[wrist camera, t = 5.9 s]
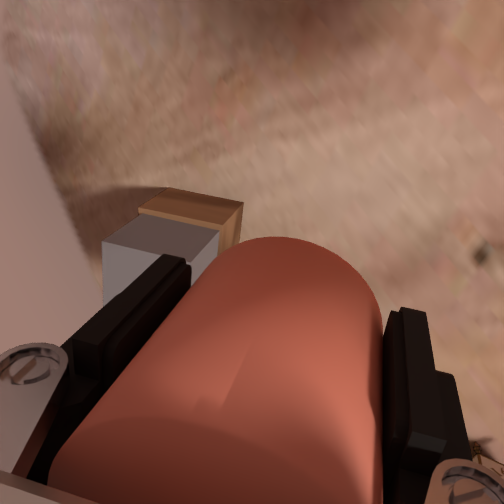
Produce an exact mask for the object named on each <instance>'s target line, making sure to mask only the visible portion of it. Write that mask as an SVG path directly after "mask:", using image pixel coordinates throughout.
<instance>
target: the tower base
mask: <svg viewBox="0 0 504 504" xmlns="http://www.w3.org/2000/svg"><path fill="white" fill-rule="evenodd" d="M243 204H244V202H239V201H234V200H229V199H224V198H219V197H214V196H209V195H204V194H199V193H194V192H189V191H184V190H179V189H174V188H170V187H169V188H168V189H166V190H164V191H163V192H161V193H160V194H158V195H157V196H155V197H154V198H152V199H150V200H149V201H147V202H146V203H144V204H143V205H141V206H140V207H138V216H139V215H141V214H142V213H144V214H148V215H153V216H157V217H162V218H166V219H171V220H175V221H180V222H184V223H188V224H193V225H197V226H202V227H206V228H211V229H215V230H220V232H219V242H218V252H217V256H219V255H220V254H221V253H222V252H224V251H225V250H227V249H229V248H231V247H232V246H234V245H237V244H239V240H240V231H241V222H242V213H243Z"/></svg>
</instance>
